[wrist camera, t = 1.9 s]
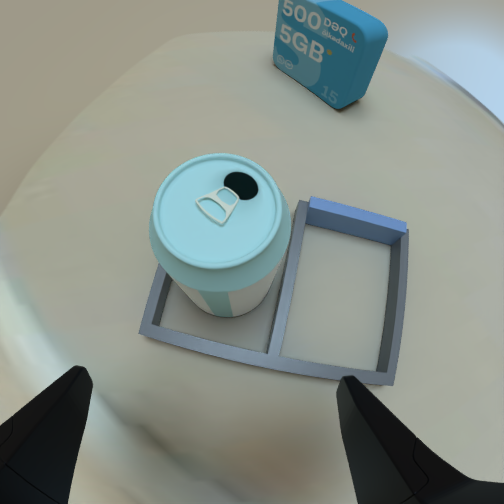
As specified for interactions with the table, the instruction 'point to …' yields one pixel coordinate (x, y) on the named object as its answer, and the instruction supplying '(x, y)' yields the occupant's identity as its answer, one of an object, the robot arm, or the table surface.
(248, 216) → the can
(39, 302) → the table surface
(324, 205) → the grey flat frame
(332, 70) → the data package
